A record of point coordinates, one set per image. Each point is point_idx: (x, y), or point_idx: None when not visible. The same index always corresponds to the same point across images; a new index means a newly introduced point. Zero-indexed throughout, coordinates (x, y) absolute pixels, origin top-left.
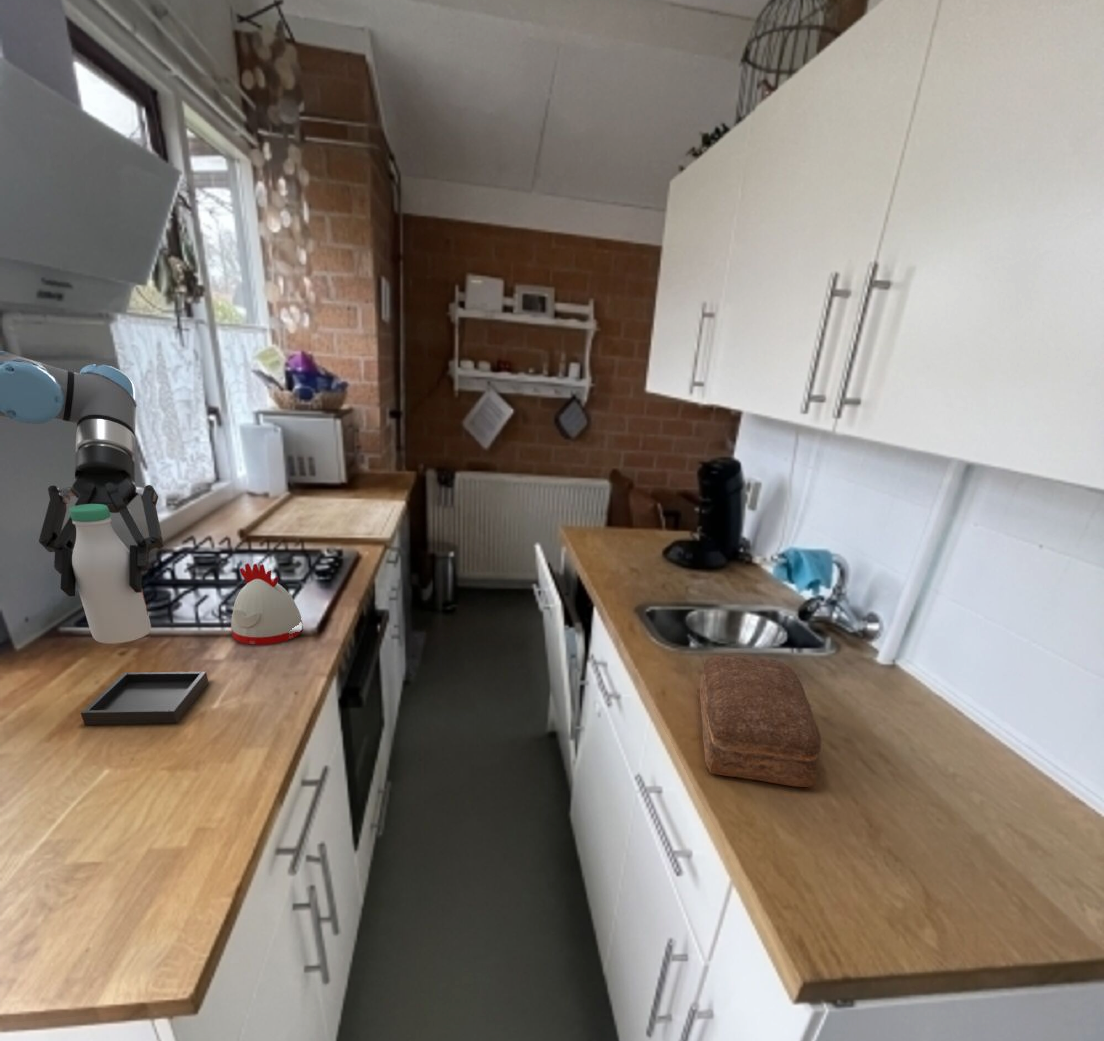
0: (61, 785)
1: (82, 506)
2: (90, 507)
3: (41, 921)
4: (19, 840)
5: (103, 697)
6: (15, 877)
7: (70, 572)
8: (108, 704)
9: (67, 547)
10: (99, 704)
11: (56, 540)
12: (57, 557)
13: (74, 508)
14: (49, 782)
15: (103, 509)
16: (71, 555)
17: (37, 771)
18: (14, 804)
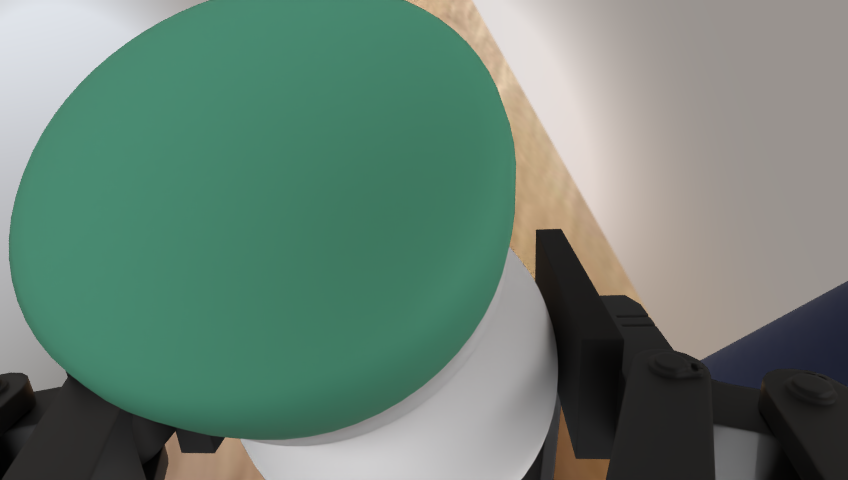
0: (519, 203)
1: (330, 153)
2: (213, 87)
3: (451, 6)
4: (523, 105)
5: (541, 470)
6: (500, 55)
7: (550, 298)
8: (531, 468)
9: (591, 341)
10: (542, 446)
11: (703, 388)
12: (643, 333)
13: (413, 55)
14: (540, 214)
15: (82, 85)
16: (572, 363)
17: (574, 247)
18: (566, 172)
